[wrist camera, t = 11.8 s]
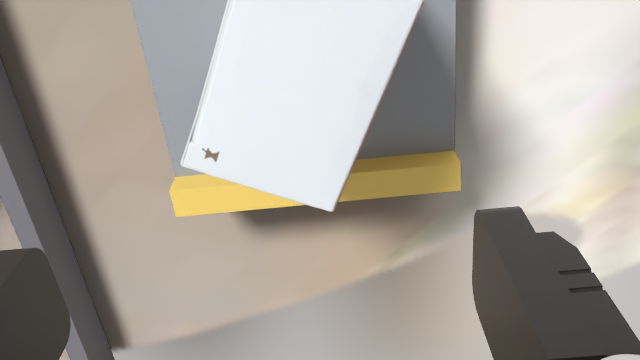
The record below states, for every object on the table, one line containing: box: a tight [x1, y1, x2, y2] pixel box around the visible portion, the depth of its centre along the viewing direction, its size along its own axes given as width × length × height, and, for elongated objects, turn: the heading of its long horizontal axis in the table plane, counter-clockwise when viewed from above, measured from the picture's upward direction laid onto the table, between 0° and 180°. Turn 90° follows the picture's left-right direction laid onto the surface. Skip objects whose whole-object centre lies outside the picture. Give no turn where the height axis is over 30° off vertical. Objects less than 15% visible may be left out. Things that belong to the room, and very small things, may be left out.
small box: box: [180, 0, 425, 212], centre depth 22 cm, size 8×6×10 cm
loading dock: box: [130, 0, 461, 217], centre depth 28 cm, size 18×15×6 cm
